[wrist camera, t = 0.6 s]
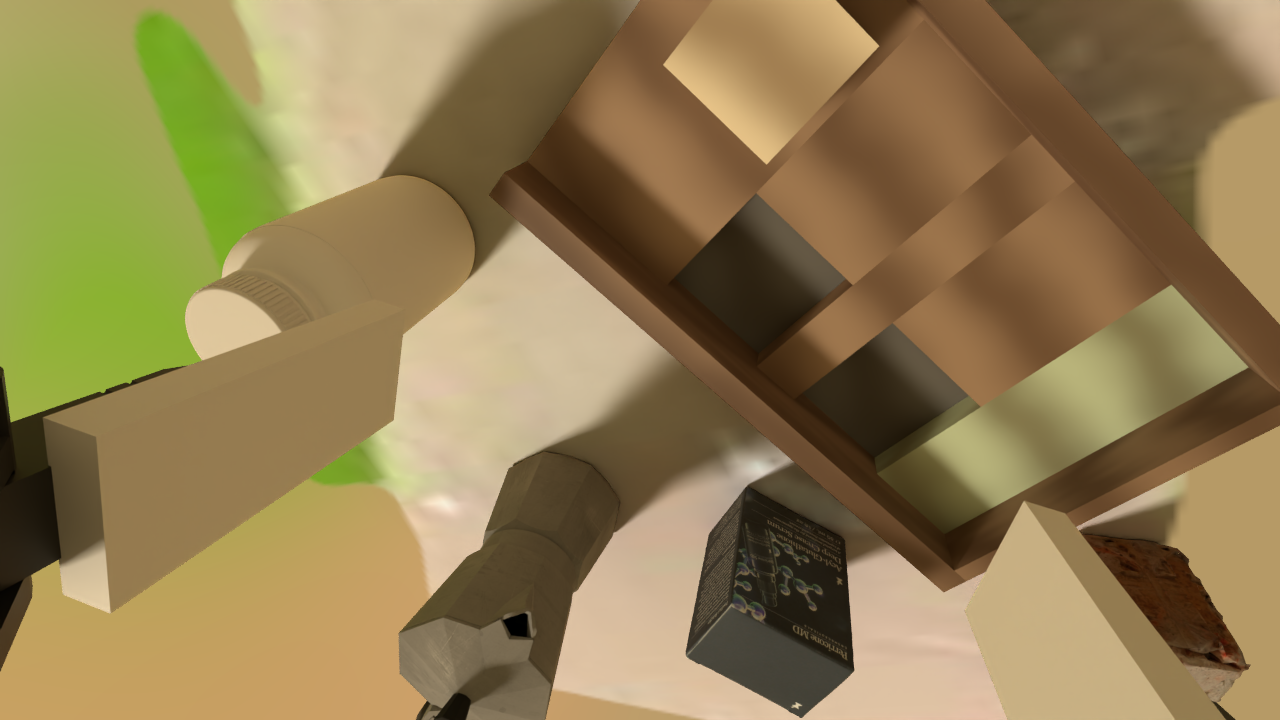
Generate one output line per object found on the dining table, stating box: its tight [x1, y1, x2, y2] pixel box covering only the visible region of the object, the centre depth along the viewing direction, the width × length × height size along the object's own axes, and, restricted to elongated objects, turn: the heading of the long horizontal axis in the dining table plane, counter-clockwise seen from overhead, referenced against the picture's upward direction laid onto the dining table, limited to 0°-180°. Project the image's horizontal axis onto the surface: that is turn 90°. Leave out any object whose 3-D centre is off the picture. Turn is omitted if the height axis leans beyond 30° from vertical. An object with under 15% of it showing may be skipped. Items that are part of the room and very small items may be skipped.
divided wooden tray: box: [489, 0, 1280, 592], centre depth 32 cm, size 20×34×5 cm, turn 51°
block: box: [663, 0, 879, 165], centre depth 27 cm, size 6×6×4 cm
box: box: [686, 487, 854, 718], centre depth 40 cm, size 8×6×11 cm
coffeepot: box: [399, 452, 620, 720], centre depth 40 cm, size 15×9×18 cm, turn 148°
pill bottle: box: [185, 175, 475, 360], centre depth 33 cm, size 8×8×15 cm
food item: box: [1082, 534, 1250, 703], centre depth 37 cm, size 14×8×10 cm, turn 1°
